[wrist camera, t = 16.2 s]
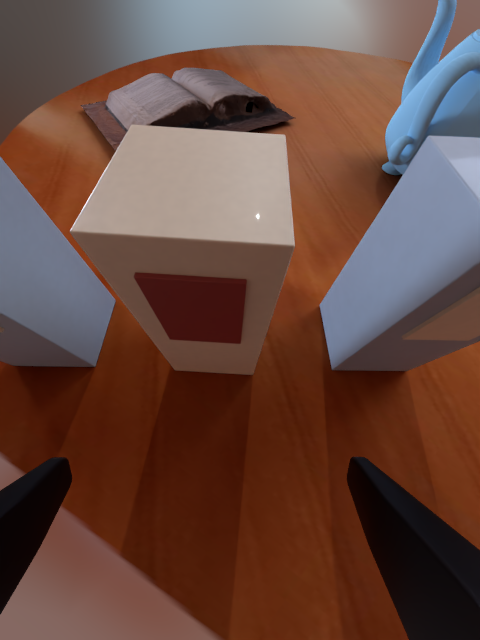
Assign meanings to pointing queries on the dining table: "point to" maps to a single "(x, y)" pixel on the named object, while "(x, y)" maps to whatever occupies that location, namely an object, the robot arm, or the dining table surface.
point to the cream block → (194, 240)
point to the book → (183, 105)
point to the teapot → (436, 94)
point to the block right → (413, 268)
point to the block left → (45, 288)
